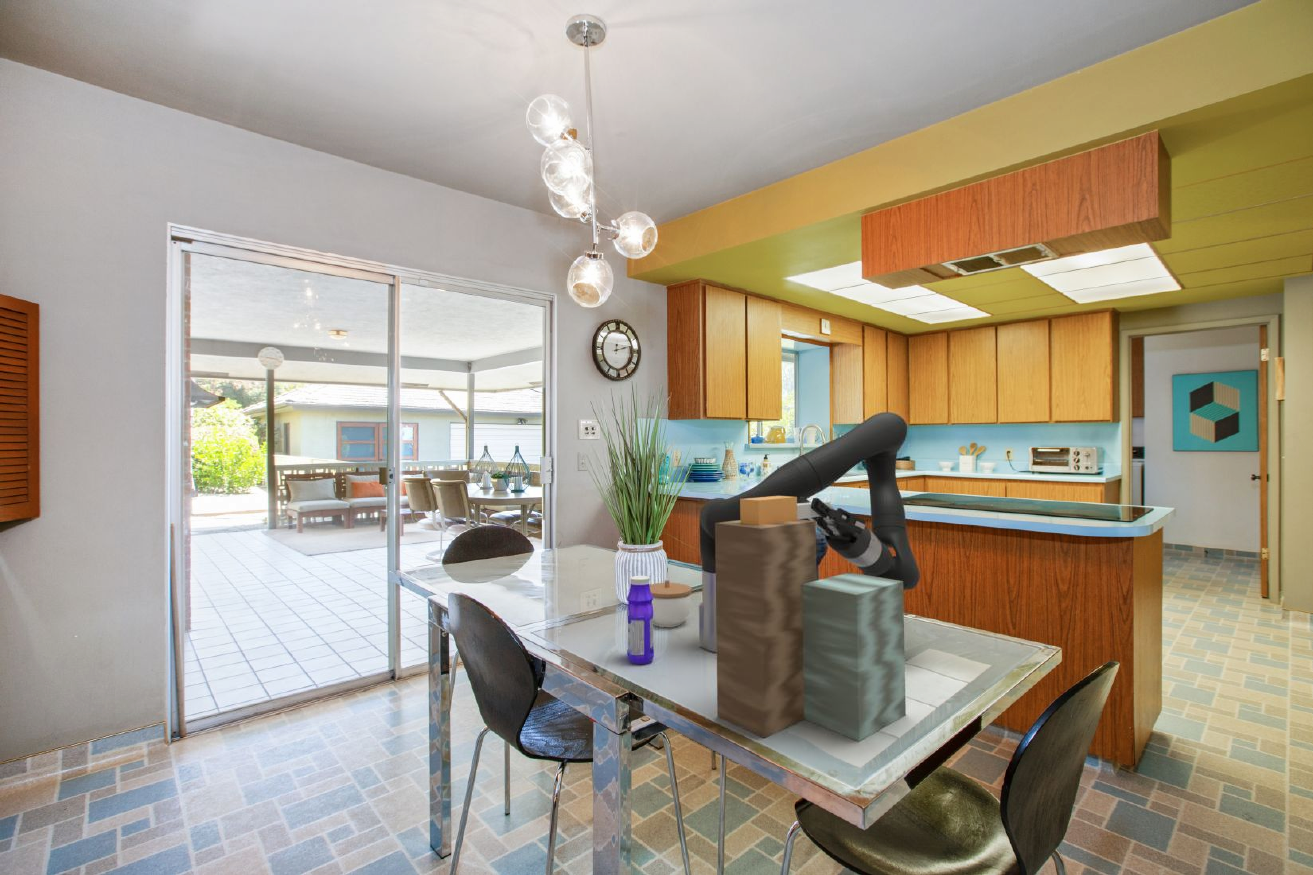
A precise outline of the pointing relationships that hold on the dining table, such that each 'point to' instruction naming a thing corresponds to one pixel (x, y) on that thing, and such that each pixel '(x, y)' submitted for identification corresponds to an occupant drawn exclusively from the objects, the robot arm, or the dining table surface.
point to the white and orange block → (774, 510)
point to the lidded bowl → (670, 603)
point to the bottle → (640, 621)
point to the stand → (803, 636)
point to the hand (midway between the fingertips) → (806, 502)
